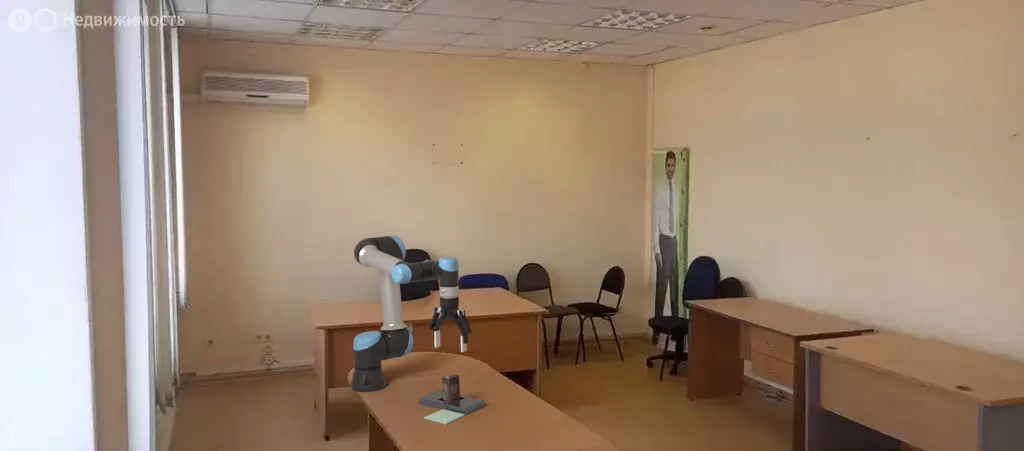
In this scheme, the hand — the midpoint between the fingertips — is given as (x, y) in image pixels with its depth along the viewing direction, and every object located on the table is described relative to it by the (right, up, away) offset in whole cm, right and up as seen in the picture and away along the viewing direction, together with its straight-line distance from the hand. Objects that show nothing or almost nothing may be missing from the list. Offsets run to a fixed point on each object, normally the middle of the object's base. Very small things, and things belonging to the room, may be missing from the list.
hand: (450, 349), depth 298 cm
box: (0, -23, +2) cm, 23 cm away
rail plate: (0, -23, +2) cm, 23 cm away
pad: (-1, -24, -12) cm, 27 cm away
